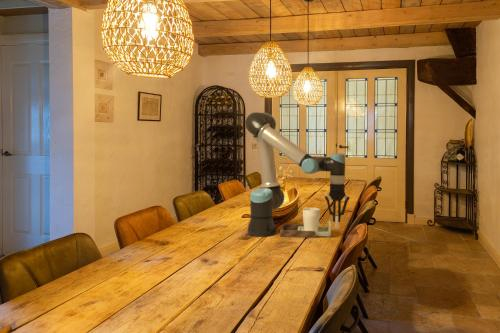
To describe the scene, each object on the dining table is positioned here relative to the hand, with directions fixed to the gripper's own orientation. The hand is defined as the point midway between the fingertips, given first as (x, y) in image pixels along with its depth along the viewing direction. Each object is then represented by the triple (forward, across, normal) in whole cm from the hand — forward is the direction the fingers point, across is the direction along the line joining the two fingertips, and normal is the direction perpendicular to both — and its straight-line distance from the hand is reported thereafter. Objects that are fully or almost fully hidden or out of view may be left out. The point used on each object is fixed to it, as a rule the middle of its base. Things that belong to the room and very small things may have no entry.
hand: (336, 227), depth 235 cm
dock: (+4, -20, 0) cm, 20 cm away
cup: (+3, -13, 0) cm, 13 cm away
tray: (+3, -11, 0) cm, 12 cm away
